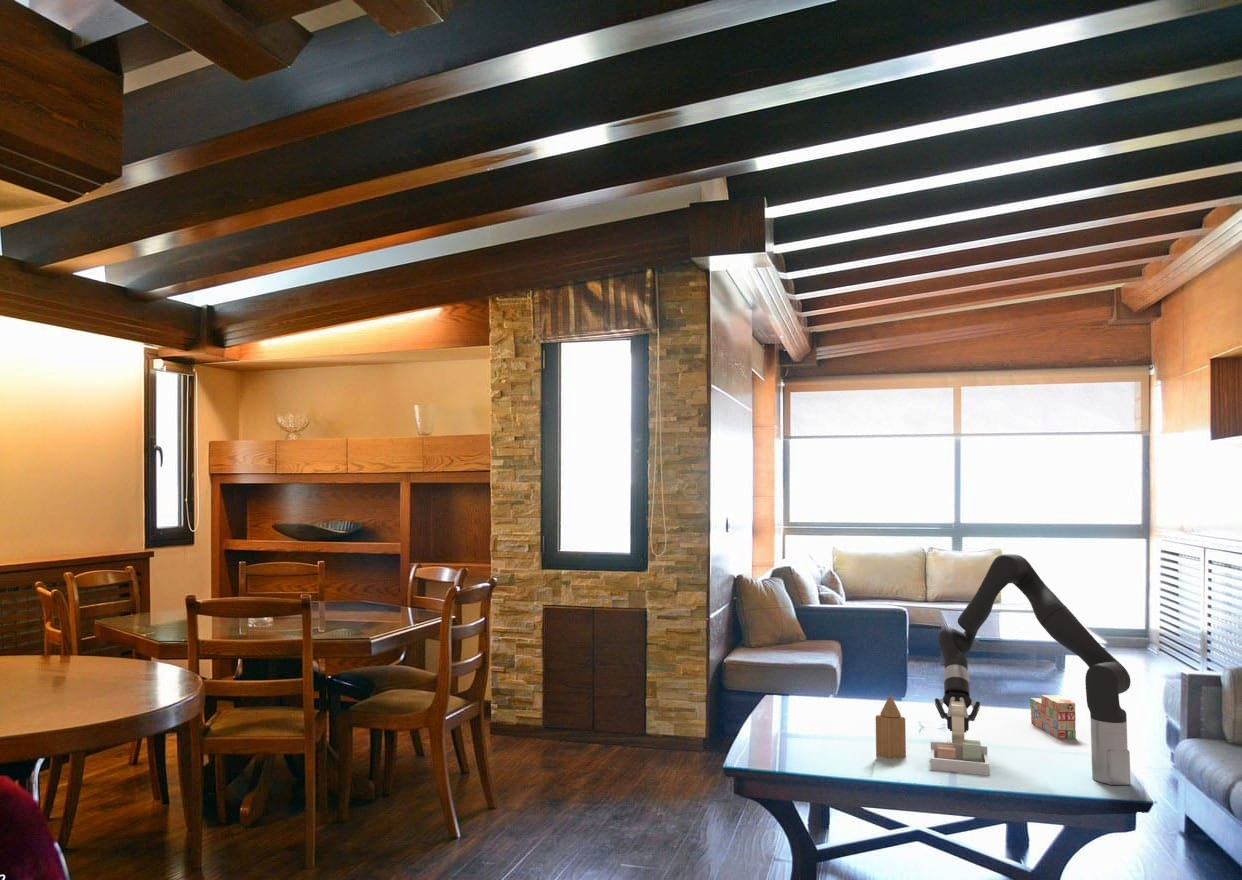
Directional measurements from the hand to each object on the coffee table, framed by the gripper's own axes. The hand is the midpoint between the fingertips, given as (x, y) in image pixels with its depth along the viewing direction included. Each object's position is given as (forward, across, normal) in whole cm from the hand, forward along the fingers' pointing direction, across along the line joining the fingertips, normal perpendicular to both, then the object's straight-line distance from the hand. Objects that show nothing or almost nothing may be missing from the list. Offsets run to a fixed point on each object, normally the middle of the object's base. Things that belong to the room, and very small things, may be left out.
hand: (958, 730), depth 273 cm
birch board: (+4, 0, +7) cm, 9 cm away
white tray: (+9, 0, +5) cm, 10 cm away
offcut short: (+12, -4, 0) cm, 12 cm away
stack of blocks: (-32, +32, +46) cm, 65 cm away
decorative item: (+9, -20, +5) cm, 22 cm away
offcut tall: (+12, +4, 0) cm, 12 cm away
